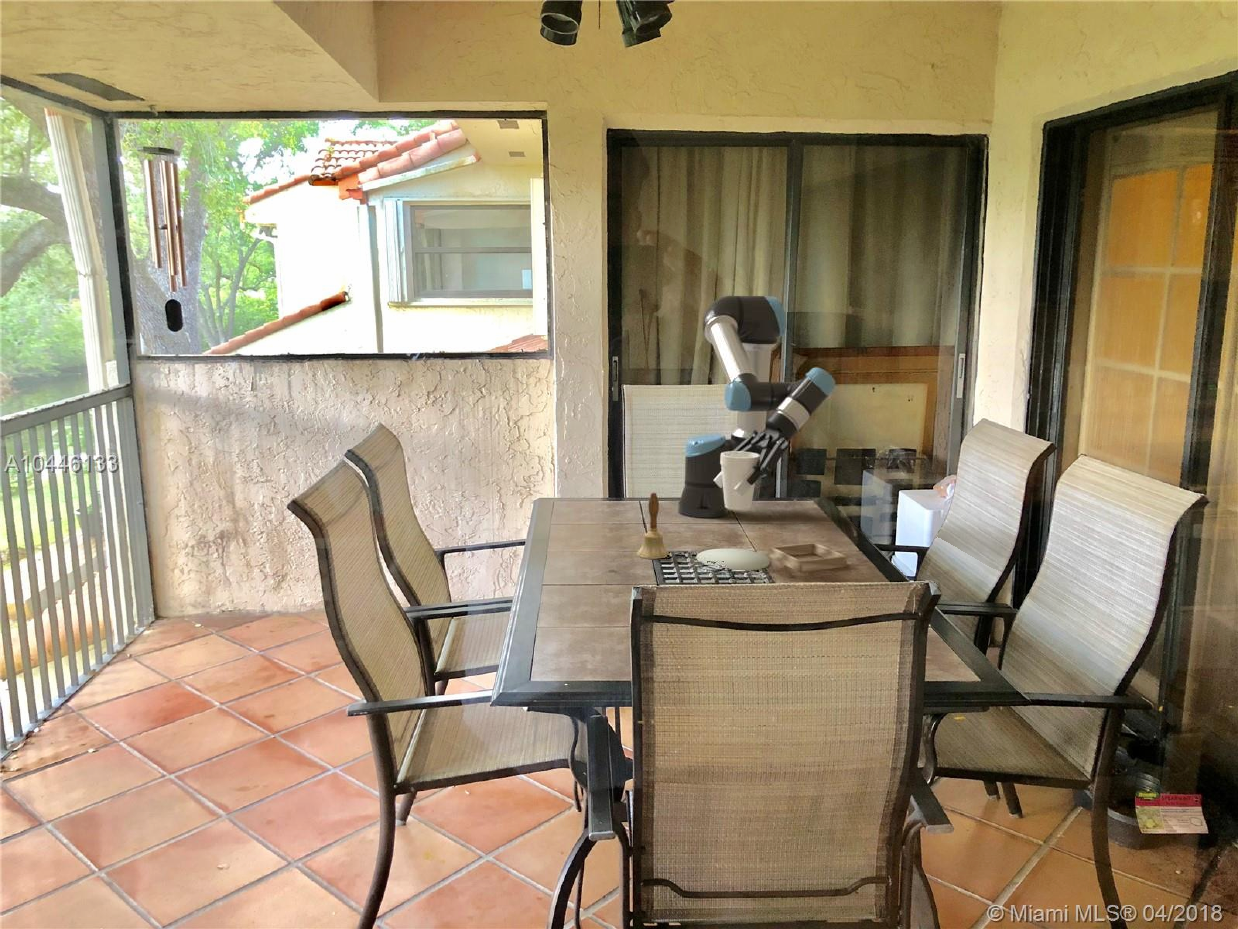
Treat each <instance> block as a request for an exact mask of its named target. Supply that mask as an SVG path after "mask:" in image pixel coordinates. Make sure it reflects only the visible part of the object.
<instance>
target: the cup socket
mask: <svg viewBox="0 0 1238 929" xmlns="http://www.w3.org/2000/svg"><path fill="white" fill-rule="evenodd" d="M808 554H813V555H814V554H815V555H816V556H819V557H821V558H813V559H804V560H800V559H798V558H795V557H794V556H796V555H797V556H798V555H808ZM768 558H769V559H773V560H774V561H777V562H778V563H781V564H782V565H784V566H787V567H788V568H790V569H792V570H794V571H796V572H799V573H801V572H810V571H811V572H812V571H820V570H830V569H837V568H844V567H845V568H846V567H847V563H848V556H846V555H844V554H841V553H840V552H838V551H835V550H833V549H831V548H828V547H826V546H824V545H822V544H819V543H817V542H807V543H798V544H788V545H778V546H769V547H768Z"/></svg>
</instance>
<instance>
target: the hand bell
mask: <svg viewBox="0 0 1238 929" xmlns="http://www.w3.org/2000/svg"><path fill="white" fill-rule="evenodd" d="M659 504H660V503H659V498H658V496H657V492H651V494H650V498H649V500H648V513H649V517H650V521H649V523H650V524H649V528H650V529H649V531H648V532H646V533H645V534H644V538H643V542H642V546H641V547H640V549H639V550H638V551H636V557H638V558H641V559H645V560H653V559H658V558H665V557H667V555H669V556H670V552H669V551H668V550H667V549H666V547H665V545H664V541H663V540H664V539H663V534H662V533H661V532H659V531H658V526H657V525H658V521H657V518H658V514H659V509H660V508H659V507H660V505H659ZM667 558H668V557H667ZM665 559H666V558H665ZM653 561H654V560H653Z"/></svg>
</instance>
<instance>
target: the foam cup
mask: <svg viewBox="0 0 1238 929" xmlns="http://www.w3.org/2000/svg"><path fill="white" fill-rule="evenodd" d="M759 457H760V455H759V454H757V453H752V452H743V451H730V452H723V453H721V458H720V464H721V468H722V480H723V491H724V502H725V507H726V508H728V510H735V511H745V510H746V511H747V510H751V509H752V508H751V507H752V502H753V497H754V491H755V486H756V482H755V483H754V484H753V485H752V486H751V487H750V488H749V490H748V491H747V492H746V493H745V494H744V495H743V496H740V495H739V493H738V492H737V491H736V490H735V489H734V488H735V487H736V486H737V485H738V484H739V482H740V481H741V480H742V479H743V478H744V477H745V476H746V474H747V473H748V472H749V471H750V470H751V469H754V468H753V466H756V464H757V462H758V460H759ZM754 470H755V469H754Z"/></svg>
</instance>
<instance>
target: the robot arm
mask: <svg viewBox="0 0 1238 929" xmlns="http://www.w3.org/2000/svg"><path fill="white" fill-rule="evenodd" d="M785 312H786V311H785V308H784V305H783V303H782V302H781V300H780V299H779V298H778V297H775V296H768V295H726V296H722V297H720V298H717V299H716V300H714V301H713V302H712V303H711V304H709V307H708V308H707V309H706V311H705V312H704V315H703V318H702V324H701V325H702V332H703V334H704V338H705V339H706V340H707V342H709V343H710V344H711V345H712V347H713V349H714V352H715V354H716V357H717V359H718V362H719V364H720V366H721V369H722V372H723V374H724V376H725V379H726V381H727V384H726V386H725V389H724V401H725V402H724V403H725V407H726V408H727V409H728V410H729V411H732V412H737V414H736V415H737V416H736V417H737V418H736V427H735V428H734V429H733V430H732V431H731V432H730V434H731V435H730V438H728V439H726V438H727V437H726V436H725V435H724V434H719V433H710V434H709V433H708V434H700V435H696V436H692V437H690V438H689V439H688V440H687V441H686V445H685V452H684V456H685V458H684V459H685V460H684V461H685V463H684V486H683V490H682V493H681V495H680V496H681V497H680V499H679V501H678V504H677V512H678V513H679V514H681V515H684V516H688V517H693V518H705V519H706V518H719V517H724V516H727V515H728V514H729V509H728V508H726V507H725V502H724V491H723V480H722V468H721V464H720V458H721V453H723V452H730V451H743V452H752V453H757V454H759V455H760V457H759V460H758V462H757V464H756V466H753V468H754V469H755V470H754V469H751V470H750V471H749V472H748V473H747V474H746V476H745V477H744V478H743V479H742V480H741V481H740V482H739V484H738V485H737V486H736V487H735V488H734V489H735V490H736V491H737V492H738V493H739V495H740V496H743V495H744V494H745V493H746V492H747V491H748V490H749V488H750V487H751V486H752V485H753V484H754V483H755V484H756V482H757V481H758V480H759V479H760V478H764V477H768V476H770V475H771V473H772V472H773V470H774V468H775V467H776V465H777V464H778V462H779V461H780V460H781V458H782V456H783V455H784V453H785V451H786V450H788V449H789V448H790V446H791V445H790V443H788V442H790V441H791V439H792V438H793V437H794V436H795V434H797V432H798V430H800V429H801V428H802V426H804V425H805V424H806V422H807V420H809V419H810V418H811V416H812V415H813V414H814V413H815V412H816V410H817V409H818V408H819V407H821V405H822V404H823V402H825V401H826V399H827V398H828V397H830V395H831V393H832V392H833V391H834V389H835V388H836V381H835V379H834V378H833V376H832V375H830V374H829V373H828V372H827V371H826V370H824V369H823V368H821V367H813V368H811V369H810V370H809V371H808V372H806V373H805V375H804V377H803V378H801V379H798V380H797V381H770V369H771V357H772V356H771V355H772V350H773V348H774V347H775V346H776V345H777V344H778V338H781V337H783V336H784V334H785V331H786V327H787V321H786V320H787V318H786V313H785ZM767 412H772V413H771V414H770V416H768V418H767Z"/></svg>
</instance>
